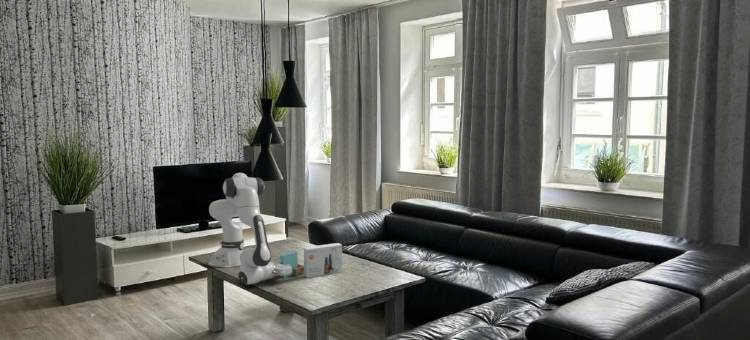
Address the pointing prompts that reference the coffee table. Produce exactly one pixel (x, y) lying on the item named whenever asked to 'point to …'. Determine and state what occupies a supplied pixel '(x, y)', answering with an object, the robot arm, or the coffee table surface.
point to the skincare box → (322, 260)
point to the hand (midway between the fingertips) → (286, 264)
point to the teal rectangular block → (289, 261)
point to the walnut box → (298, 270)
